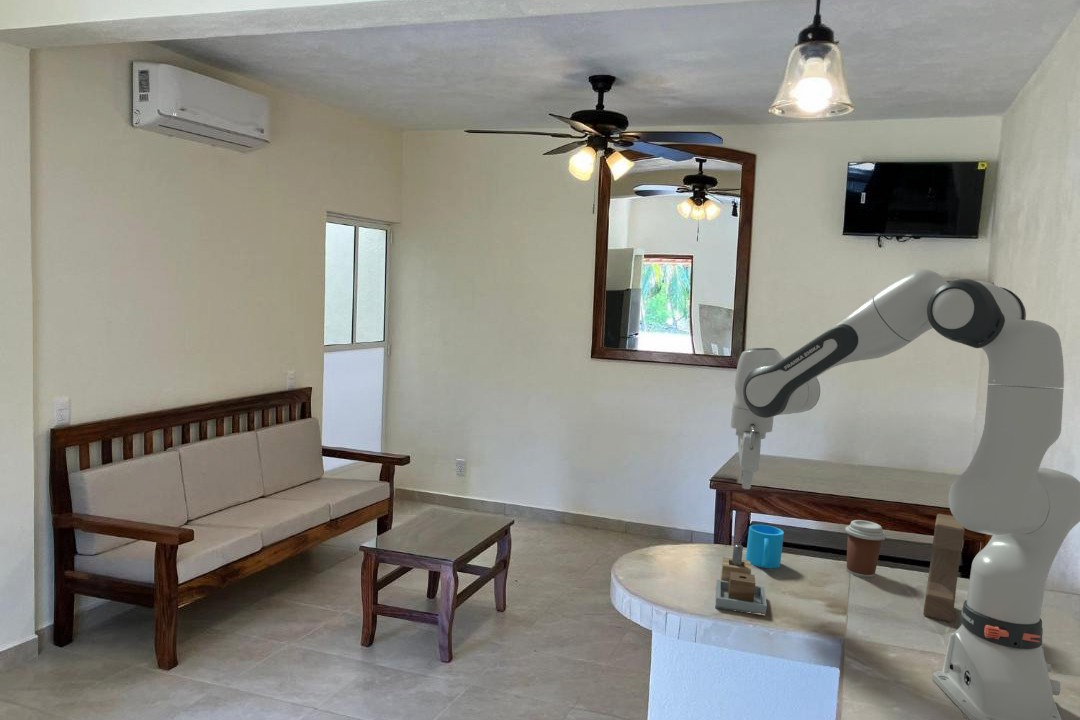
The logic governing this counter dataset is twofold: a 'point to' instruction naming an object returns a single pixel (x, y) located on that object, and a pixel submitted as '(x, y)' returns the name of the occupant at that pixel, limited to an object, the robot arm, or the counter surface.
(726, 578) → the block
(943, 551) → the decorative block
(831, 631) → the counter surface
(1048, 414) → the robot arm
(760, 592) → the tray
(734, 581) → the block
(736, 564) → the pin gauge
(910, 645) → the counter surface
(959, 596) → the counter surface
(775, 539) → the mug
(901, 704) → the counter surface
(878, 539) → the coffee cup
